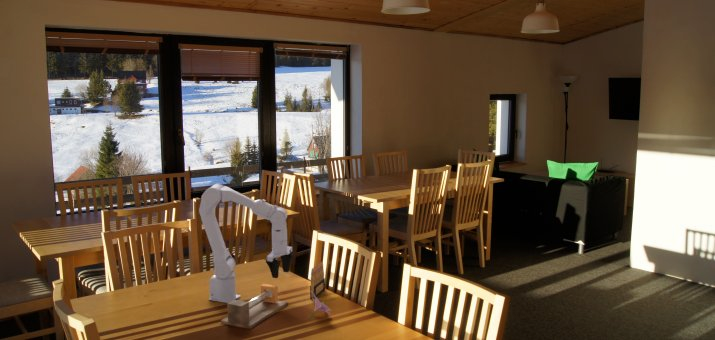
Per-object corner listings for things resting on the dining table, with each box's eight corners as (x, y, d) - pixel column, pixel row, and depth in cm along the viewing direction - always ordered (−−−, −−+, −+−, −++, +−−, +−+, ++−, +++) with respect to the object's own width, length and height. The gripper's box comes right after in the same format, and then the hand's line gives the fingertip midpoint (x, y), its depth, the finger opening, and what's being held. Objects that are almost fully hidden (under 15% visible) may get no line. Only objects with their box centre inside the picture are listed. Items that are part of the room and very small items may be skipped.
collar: (261, 300, 221) (260, 285, 221) (264, 299, 223) (263, 283, 222) (275, 303, 219) (274, 287, 218) (278, 301, 221) (277, 285, 220)
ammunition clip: (314, 299, 226) (313, 269, 225) (310, 298, 227) (309, 268, 225) (325, 290, 236) (324, 261, 235) (321, 289, 237) (320, 260, 235)
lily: (329, 329, 202) (340, 302, 203) (297, 316, 201) (308, 289, 203) (328, 326, 213) (338, 300, 215) (297, 313, 213) (307, 288, 215)
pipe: (238, 312, 206) (238, 305, 206) (268, 295, 222) (267, 288, 222) (245, 313, 205) (244, 306, 205) (273, 296, 221) (273, 289, 221)
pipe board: (221, 323, 205) (220, 302, 204) (260, 300, 226) (260, 281, 225) (249, 328, 200) (249, 307, 199) (287, 304, 221) (287, 285, 220)
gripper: (278, 245, 217) (279, 281, 218) (298, 236, 229) (299, 270, 231) (261, 243, 220) (263, 279, 221) (283, 234, 232) (284, 268, 234)
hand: (280, 274), depth 227 cm, fingers open, 7 cm apart
